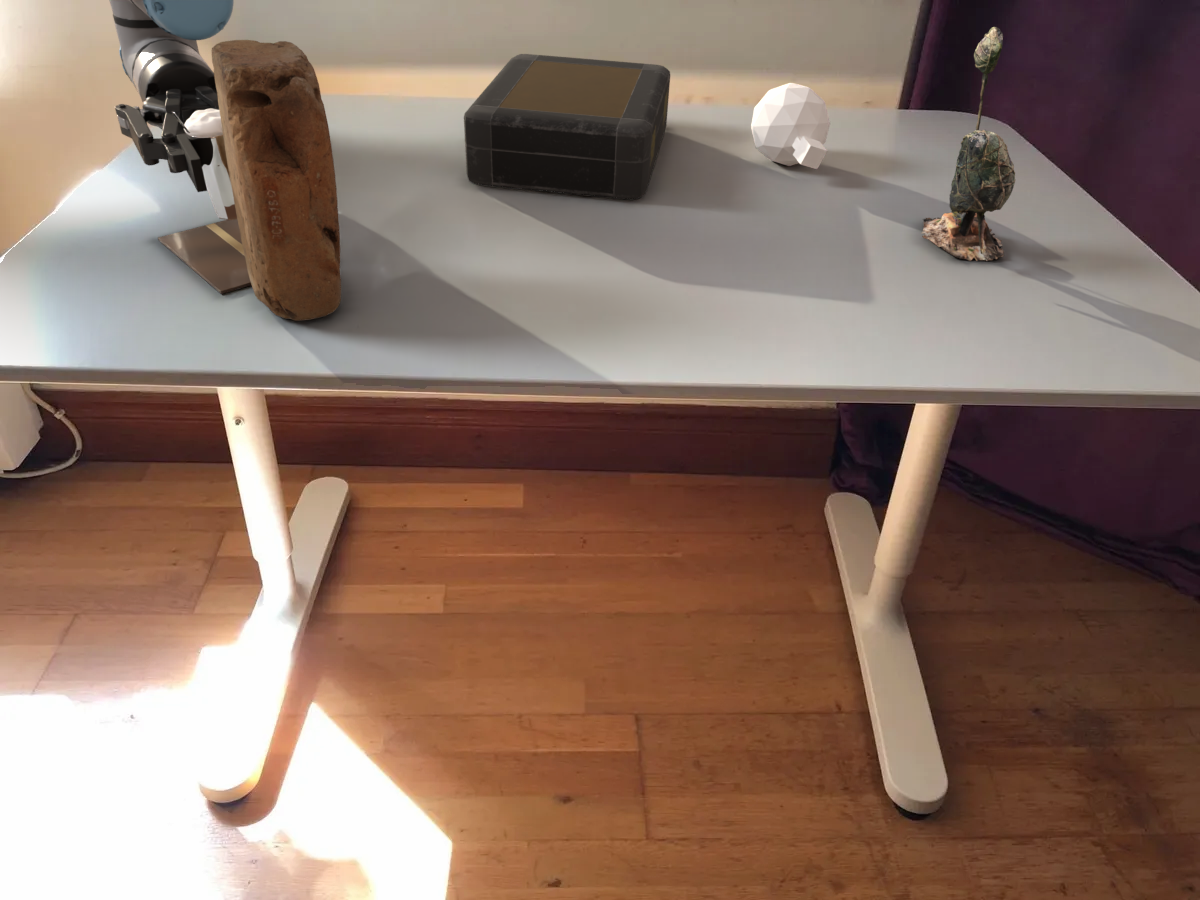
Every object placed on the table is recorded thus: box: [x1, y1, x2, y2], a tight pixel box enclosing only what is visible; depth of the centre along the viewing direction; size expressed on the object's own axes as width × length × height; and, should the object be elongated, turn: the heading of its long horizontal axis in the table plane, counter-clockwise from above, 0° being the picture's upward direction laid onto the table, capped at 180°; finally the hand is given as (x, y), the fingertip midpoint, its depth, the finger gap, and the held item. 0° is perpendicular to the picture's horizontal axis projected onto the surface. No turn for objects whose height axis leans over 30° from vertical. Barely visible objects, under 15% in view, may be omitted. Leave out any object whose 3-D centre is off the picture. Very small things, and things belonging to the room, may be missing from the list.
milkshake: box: [172, 108, 237, 221], centre depth 83 cm, size 4×5×10 cm
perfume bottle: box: [750, 82, 831, 170], centre depth 109 cm, size 9×9×12 cm
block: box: [211, 39, 342, 322], centre depth 75 cm, size 11×8×20 cm
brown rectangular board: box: [157, 219, 252, 295], centre depth 88 cm, size 14×10×1 cm
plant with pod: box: [921, 26, 1016, 262], centre depth 89 cm, size 8×11×20 cm
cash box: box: [463, 53, 671, 201], centre depth 109 cm, size 25×20×8 cm
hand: (231, 170), depth 79 cm, fingers closed on milkshake, 4 cm apart
